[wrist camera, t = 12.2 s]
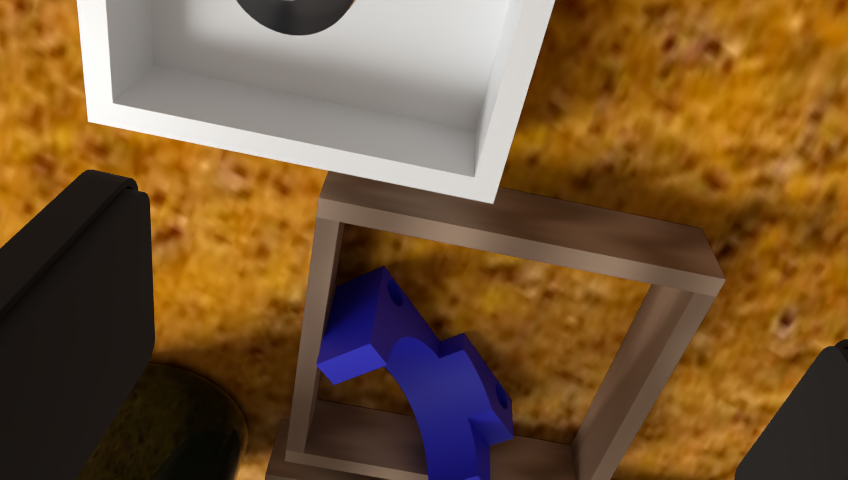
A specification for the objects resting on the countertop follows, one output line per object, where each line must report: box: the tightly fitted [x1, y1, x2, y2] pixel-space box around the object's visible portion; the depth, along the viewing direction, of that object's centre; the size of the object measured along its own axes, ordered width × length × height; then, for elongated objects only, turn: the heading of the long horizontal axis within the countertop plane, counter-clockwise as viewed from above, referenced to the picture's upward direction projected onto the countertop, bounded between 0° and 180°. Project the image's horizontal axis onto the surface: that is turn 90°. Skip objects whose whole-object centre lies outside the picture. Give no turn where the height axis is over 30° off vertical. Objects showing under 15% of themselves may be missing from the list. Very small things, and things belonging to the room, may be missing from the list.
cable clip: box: [316, 266, 514, 480], centre depth 37 cm, size 12×4×6 cm, turn 30°
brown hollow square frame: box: [285, 171, 726, 480], centre depth 36 cm, size 18×18×4 cm
